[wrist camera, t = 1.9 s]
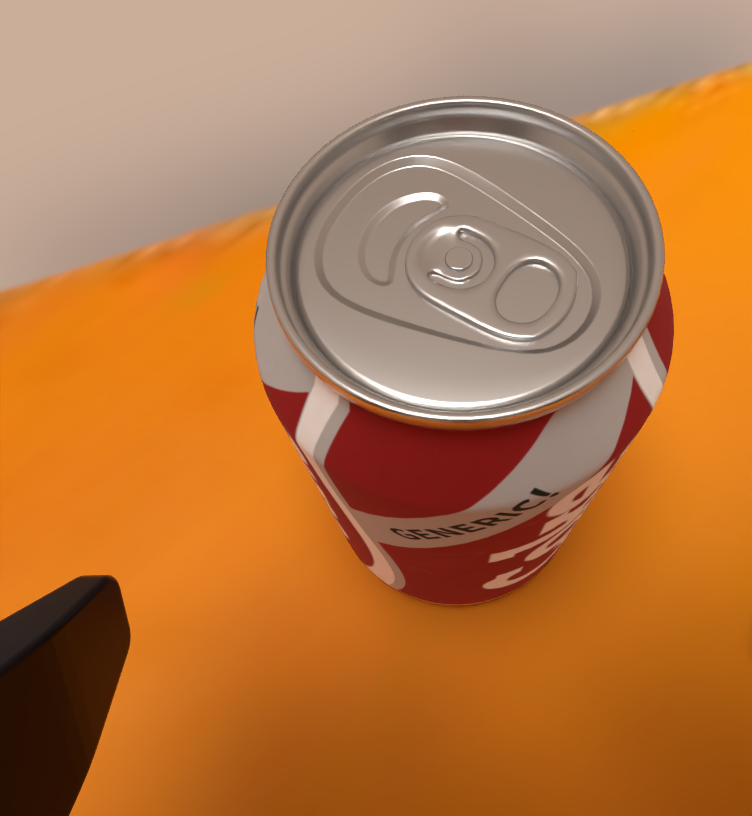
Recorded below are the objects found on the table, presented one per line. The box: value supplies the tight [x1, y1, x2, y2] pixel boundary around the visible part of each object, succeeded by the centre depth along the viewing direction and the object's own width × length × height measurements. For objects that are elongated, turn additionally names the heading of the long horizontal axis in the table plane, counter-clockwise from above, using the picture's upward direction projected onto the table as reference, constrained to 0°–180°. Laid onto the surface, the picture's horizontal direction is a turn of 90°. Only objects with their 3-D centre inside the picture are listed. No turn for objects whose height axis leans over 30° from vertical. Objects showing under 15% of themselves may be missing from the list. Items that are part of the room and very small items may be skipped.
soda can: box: [254, 96, 674, 605], centre depth 15 cm, size 7×7×12 cm
